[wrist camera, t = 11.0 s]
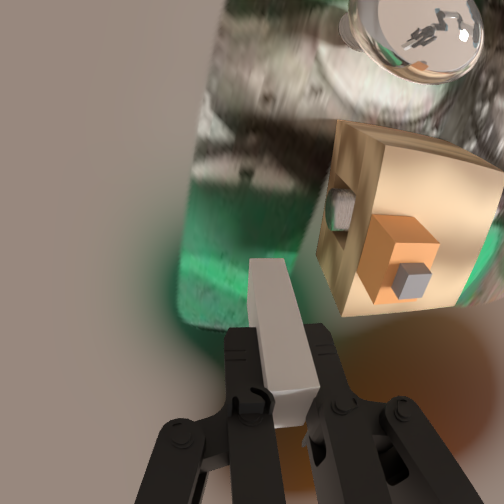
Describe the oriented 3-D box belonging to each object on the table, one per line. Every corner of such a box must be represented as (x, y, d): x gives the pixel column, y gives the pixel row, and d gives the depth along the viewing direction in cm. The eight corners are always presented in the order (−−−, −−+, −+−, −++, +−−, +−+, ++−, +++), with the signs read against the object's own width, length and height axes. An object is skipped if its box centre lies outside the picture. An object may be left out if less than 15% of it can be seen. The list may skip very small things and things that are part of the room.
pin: (326, 163, 22) (351, 189, 17) (455, 180, 23) (490, 205, 19) (316, 224, 25) (335, 261, 20) (440, 229, 26) (469, 259, 21)
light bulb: (346, -24, 14) (442, -76, 4) (410, 39, 17) (527, 45, 7) (287, 30, 17) (353, -10, 7) (358, 93, 19) (464, 127, 9)
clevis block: (337, 119, 20) (385, 145, 14) (447, 141, 21) (507, 173, 15) (315, 255, 27) (341, 317, 21) (415, 254, 28) (454, 305, 22)
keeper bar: (371, 214, 16) (404, 254, 13) (414, 217, 16) (450, 254, 13) (356, 272, 18) (380, 317, 15) (396, 271, 19) (423, 312, 15)
